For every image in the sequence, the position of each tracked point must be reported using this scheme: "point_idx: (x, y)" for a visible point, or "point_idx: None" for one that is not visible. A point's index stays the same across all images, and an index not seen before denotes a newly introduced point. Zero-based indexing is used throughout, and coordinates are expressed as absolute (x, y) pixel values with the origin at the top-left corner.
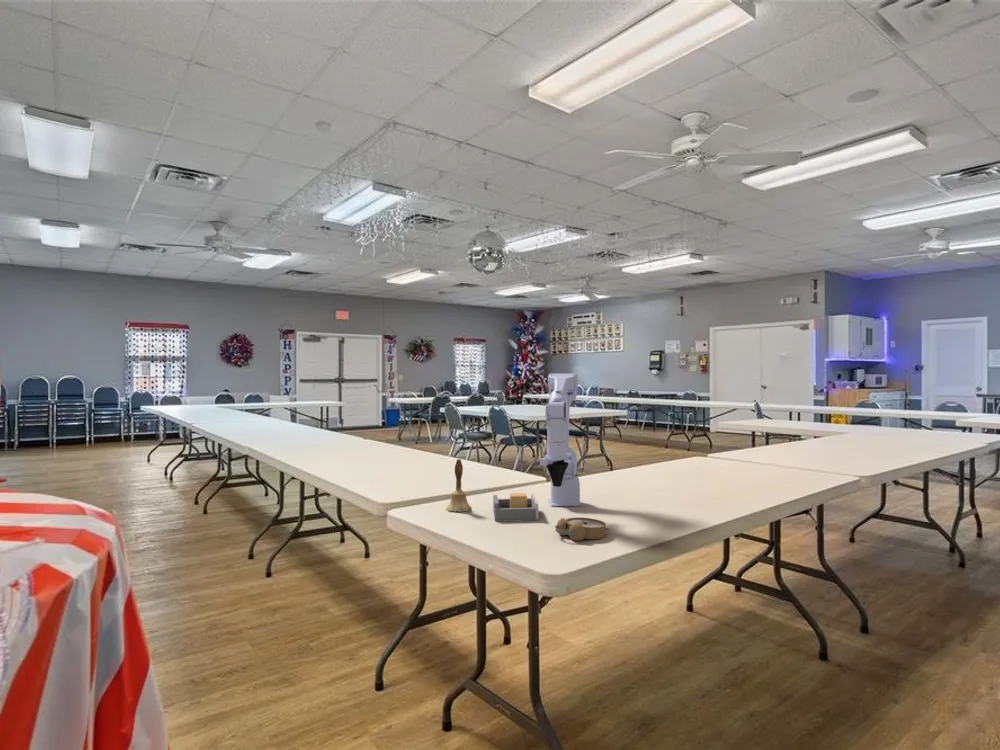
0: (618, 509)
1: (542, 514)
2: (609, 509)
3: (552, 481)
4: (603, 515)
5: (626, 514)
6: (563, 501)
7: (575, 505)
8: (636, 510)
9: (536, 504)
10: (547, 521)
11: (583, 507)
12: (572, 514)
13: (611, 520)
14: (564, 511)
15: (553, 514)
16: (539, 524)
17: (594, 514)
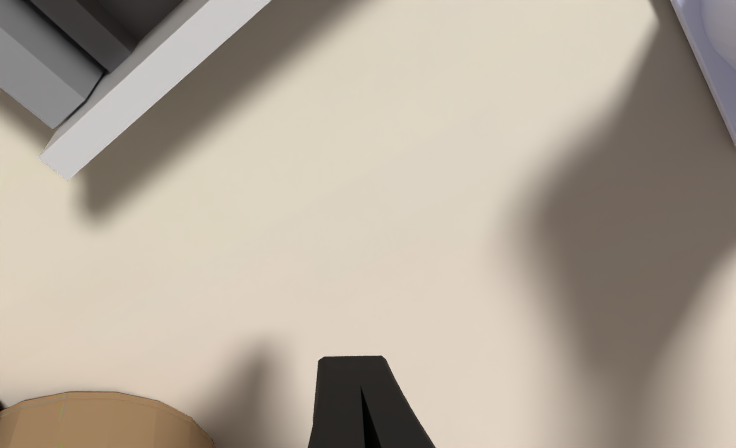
0: (713, 368)
1: (317, 15)
2: (698, 334)
3: (317, 407)
4: (534, 371)
5: (610, 435)
6: (726, 44)
7: (726, 125)
8: (716, 433)
9: (51, 160)
10: (147, 181)
11: (706, 185)
12: (462, 223)
13: (447, 439)
14: (522, 129)
15: (379, 104)
16: (16, 178)
17: (534, 327)
